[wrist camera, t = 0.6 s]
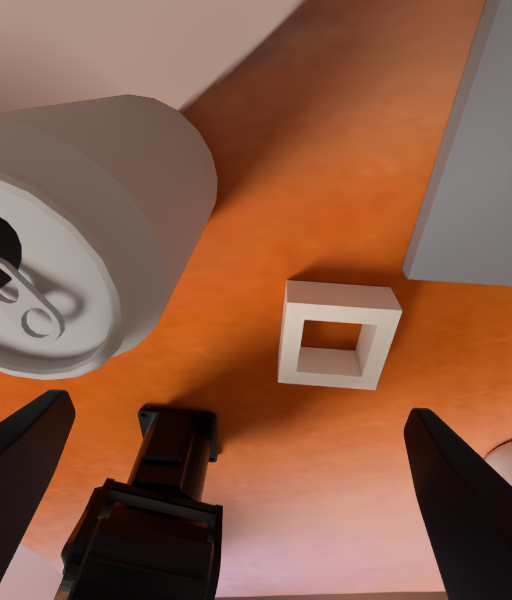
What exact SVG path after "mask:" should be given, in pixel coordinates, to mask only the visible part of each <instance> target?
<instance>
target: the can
mask: <svg viewBox="0 0 512 600" xmlns="http://www.w3.org/2000/svg"><path fill="white" fill-rule="evenodd" d="M217 183H218V178H217V173H216V169H215V165H214V161H213V157H212V153H211V152H210V150H209V148H208V146H207V145H206V143H205V141H204V139H203V138H202V136H201V134H200V132H199V131H198V130H197V129H196V128H195V127H194V126H193V125H192V124H191V123H190V122H189V121H188V120H187V119H186V118H185V117H184V116H183V115H182V114H181V113H180V112H179V111H177V110H175V109H173V108H171V107H169V106H168V105H166V104H164V103H162V102H160V101H158V100H156V99H154V98H148V97H141V96H135V95H121V96H114V97H107V98H101V99H92V100H85V101H78V102H71V103H63V104H56V105H49V106H42V107H35V108H28V109H21V110H13V111H6V112H0V372H3V373H6V374H9V375H12V376H20V377H27V378H34V379H42V380H52V379H63V378H73V377H79V376H81V375H83V374H86V373H88V372H90V371H93V370H95V369H97V368H100V367H102V366H103V365H104V364H105V363H106V362H107V361H108V360H109V359H110V358H112V357H114V356H116V355H119V354H121V353H123V352H126V351H128V350H130V349H133V348H135V347H136V346H137V345H138V344H139V343H140V342H141V341H142V340H143V339H144V338H145V337H146V336H147V335H149V334H150V333H151V332H152V331H153V330H154V329H155V328H156V326H157V324H158V322H159V320H160V317H161V315H162V313H163V311H164V309H165V307H166V305H167V303H168V301H169V299H170V297H171V295H172V293H173V291H174V289H175V287H176V285H177V283H178V281H179V279H180V277H181V275H182V273H183V271H184V269H185V267H186V265H187V263H188V261H189V259H190V257H191V255H192V253H193V251H194V249H195V247H196V245H197V243H198V241H199V239H200V237H201V234H202V232H203V230H204V228H205V226H206V224H207V222H208V220H209V218H210V215H211V213H212V211H213V208H214V206H215V203H216V198H217Z"/></svg>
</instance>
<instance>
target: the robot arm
mask: <svg viewBox="0 0 512 600" xmlns="http://www.w3.org/2000/svg"><path fill="white" fill-rule="evenodd" d="M138 418H139V422H140V427H141V431H142V436H143V442H142V445H141V447H140V450H139V452H138V455H137V458H136V460H135V463H134V466H133V468H132V471H131V474H130V476H129V479H128V482H127V484H125V483H121V482H117V481H114V480H115V479H111V478H107V479H106V481H105V483H104V485H103V486H102V487H98V488H95V489H94V491H93V493H92V495H91V498H90V500H89V502H88V504H87V506H86V508H85V510H84V512H83V514H82V516H81V518H80V520H79V521H78V523H77V525H76V527H75V528H74V530H73V532H72V533H71V535H70V537H69V539H68V540H67V542H66V544H65V546H64V548H63V550H62V553H61V557H62V560H63V563H64V569H63V573H62V575H64V576H63V579H62V582H61V585H60V591H65V592H70V593H69V596H68V598H67V600H214V598H215V594H216V590H217V585H218V579H219V573H220V563H221V542H222V516H223V506H221V505H217V504H216V505H211V504H207V503H203V502H201V498H202V492H203V487H204V482H205V476H206V471H207V466H208V462H216V461H217V457H218V450H217V417H216V415H215V414H214V413H209V412H196V411H184V410H172V409H159V408H147V407H142V408H140V410H139V412H138ZM74 419H75V408H74V406H73V403H72V401H71V398H70V396H69V393H68V392H67V391H66V390H58V389H51V390H48V391H47V392H45V393H43V394H42V395H40V396H39V397H37V398H36V399H34V400H33V401H31V402H30V403H28V404H27V405H25V406H24V407H22V408H21V409H19V410H18V411H16V412H15V413H13V414H12V415H10V416H9V417H7V418H6V419H4V420H3V421H1V422H0V582H1V580H2V578H3V576H4V574H5V572H6V570H7V568H8V566H9V564H10V562H11V560H12V558H13V556H14V554H15V552H16V550H17V548H18V546H19V544H20V542H21V540H22V538H23V536H24V534H25V532H26V530H27V528H28V526H29V524H30V522H31V520H32V518H33V516H34V514H35V512H36V510H37V508H38V505H39V503H40V501H41V499H42V497H43V495H44V493H45V491H46V489H47V487H48V485H49V483H50V481H51V479H52V477H53V474H54V472H55V470H56V467H57V465H58V462H59V459H60V457H61V454H62V451H63V449H64V446H65V443H66V441H67V438H68V436H69V433H70V430H71V428H72V425H73V422H74ZM404 439H405V444H406V449H407V454H408V459H409V464H410V469H411V474H412V479H413V483H414V488H415V493H416V497H417V501H418V504H419V508H420V511H421V514H422V517H423V520H424V523H425V527H426V530H427V533H428V536H429V539H430V542H431V546H432V549H433V552H434V555H435V558H436V561H437V565H438V568H439V571H440V574H441V577H442V580H443V584H444V587H445V590H446V593H447V596H448V600H512V486H511V485H510V484H509V483H508V482H507V481H506V480H505V479H504V478H503V477H502V476H501V475H500V474H499V473H498V472H497V471H495V470H494V469H493V468H492V467H491V466H490V465H489V464H488V463H487V462H486V461H485V460H484V459H483V458H482V457H481V456H480V455H478V454H477V453H476V452H475V451H474V450H473V449H472V448H471V447H470V446H469V445H468V444H467V443H466V442H465V441H464V440H463V439H462V438H460V437H459V436H458V435H457V434H456V433H455V432H454V431H453V430H452V429H451V428H450V427H449V426H448V425H447V424H446V423H445V422H443V421H442V420H441V419H440V418H439V417H438V416H437V415H436V414H435V413H434V412H433V411H432V410H430V409H427V408H413V409H412V410H411V411H410V414H409V417H408V419H407V422H406V425H405V427H404Z"/></svg>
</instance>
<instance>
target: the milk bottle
mask: <svg viewBox="0 0 512 600" xmlns="http://www.w3.org/2000/svg"><path fill="white" fill-rule="evenodd" d="M484 460H485V461H486V462H487V463H488V464H489V465H490V466H491V467H492V468H493V469H494V470H495V471H497V472H498V473H499V474H500V475H501V476H502V477H503V478H504V479H505V480H506V481H507V482H508V483H509V484H510V485H511V486H512V441H511V442H508V443H506V444H504V445H502V446H499V447H498V448H496V449H494V450H493V451H491V452H490V453H489V454H488V455H487V456H486V457H485V459H484Z"/></svg>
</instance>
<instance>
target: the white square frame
mask: <svg viewBox="0 0 512 600" xmlns="http://www.w3.org/2000/svg"><path fill="white" fill-rule="evenodd" d="M401 314H402V309H401V307H400V305H399V303H398V301H397V299H396V297H395V295H394V293H393V291H392V289H391V287H378V286H364V285H350V284H336V283H321V282H307V281H293V280H287V281H286V290H285V299H284V308H283V317H282V326H281V335H280V344H279V353H278V383H289V384H302V385H315V386H327V387H340V388H353V389H366V390H375V389H376V386H377V384H378V381H379V378H380V375H381V372H382V369H383V366H384V363H385V360H386V357H387V354H388V352H389V349H390V346H391V343H392V340H393V337H394V334H395V331H396V328H397V325H398V322H399V320H400V317H401ZM304 320H316V321H330V322H344V323H357V324H362V327H361V331H360V334H359V338H358V342H357V345H356V349H355V351H351V350H338V349H324V348H311V347H300V345H301V339H302V332H303V326H304Z"/></svg>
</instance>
